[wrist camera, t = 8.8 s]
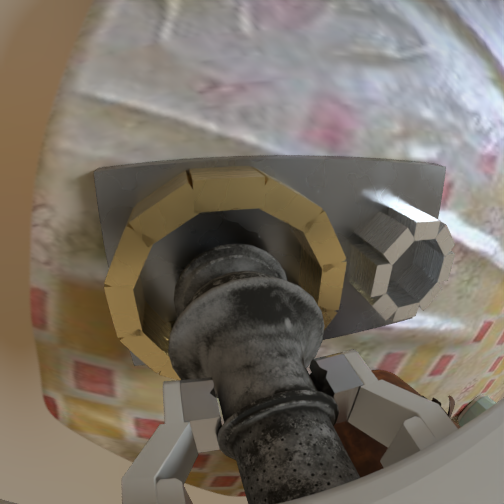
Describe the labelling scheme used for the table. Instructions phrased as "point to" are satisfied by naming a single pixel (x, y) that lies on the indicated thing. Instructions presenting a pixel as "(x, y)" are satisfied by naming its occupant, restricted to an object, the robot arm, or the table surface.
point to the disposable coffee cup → (475, 409)
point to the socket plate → (274, 236)
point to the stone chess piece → (260, 371)
